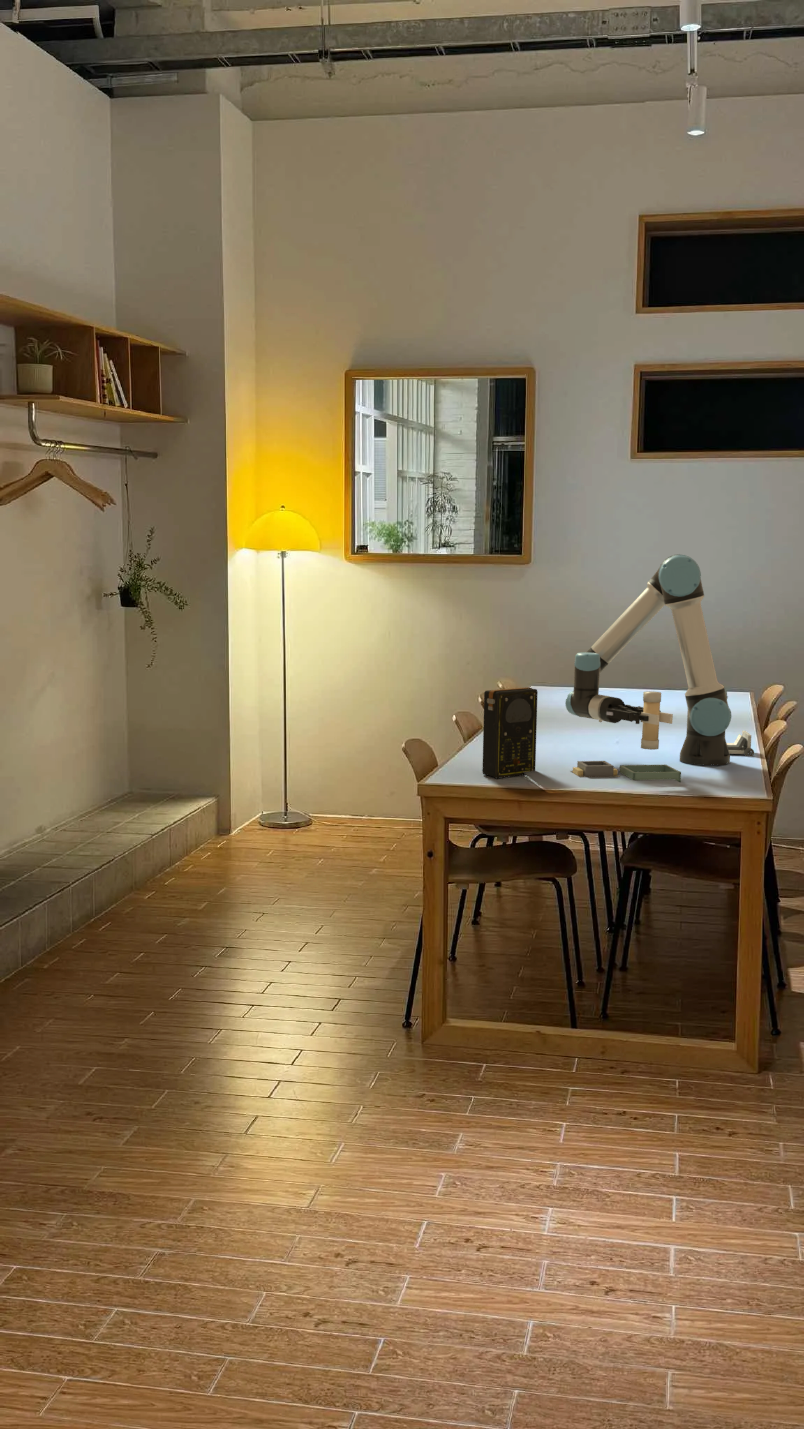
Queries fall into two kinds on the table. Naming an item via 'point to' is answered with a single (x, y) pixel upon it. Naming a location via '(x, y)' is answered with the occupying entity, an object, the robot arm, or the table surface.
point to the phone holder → (741, 745)
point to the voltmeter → (509, 732)
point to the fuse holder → (595, 769)
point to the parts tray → (650, 772)
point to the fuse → (648, 730)
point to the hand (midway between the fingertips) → (664, 719)
